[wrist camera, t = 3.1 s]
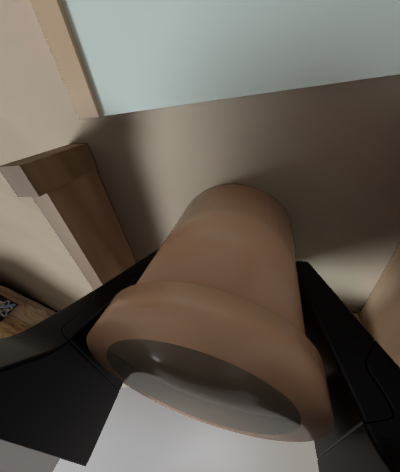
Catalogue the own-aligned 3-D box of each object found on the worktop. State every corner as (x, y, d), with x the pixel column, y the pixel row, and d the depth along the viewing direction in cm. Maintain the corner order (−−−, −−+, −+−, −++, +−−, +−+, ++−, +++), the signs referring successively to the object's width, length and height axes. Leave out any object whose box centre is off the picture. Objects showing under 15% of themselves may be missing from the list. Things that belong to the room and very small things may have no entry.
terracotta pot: (310, 175, 8) (392, 378, 2) (289, 282, 11) (305, 459, 6) (167, 179, 10) (37, 300, 4) (187, 270, 13) (130, 398, 8)
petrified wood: (125, 349, 25) (61, 459, 19) (105, 343, 35) (59, 415, 29) (-37, 257, 20) (-192, 367, 14) (-8, 281, 30) (-92, 351, 24)
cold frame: (536, 99, 5) (898, 124, 2) (376, 327, 12) (413, 414, 9) (67, 144, 10) (-22, 172, 7) (136, 288, 16) (105, 336, 13)
